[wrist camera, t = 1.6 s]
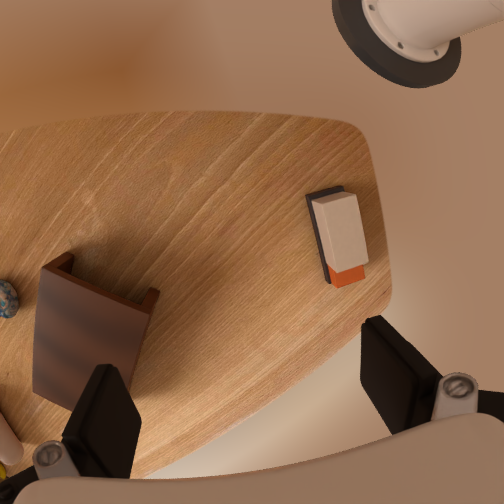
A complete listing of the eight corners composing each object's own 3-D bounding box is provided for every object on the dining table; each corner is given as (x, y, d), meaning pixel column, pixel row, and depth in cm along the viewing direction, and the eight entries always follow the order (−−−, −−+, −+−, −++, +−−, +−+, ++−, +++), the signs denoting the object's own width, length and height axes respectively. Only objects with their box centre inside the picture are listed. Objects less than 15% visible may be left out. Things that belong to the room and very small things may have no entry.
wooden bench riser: (66, 251, 31) (41, 267, 25) (160, 290, 34) (149, 315, 28) (49, 366, 35) (32, 391, 29) (126, 400, 37) (116, 430, 31)
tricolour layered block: (305, 194, 32) (318, 199, 28) (339, 185, 32) (356, 188, 28) (325, 280, 35) (339, 296, 31) (357, 269, 35) (374, 283, 31)
